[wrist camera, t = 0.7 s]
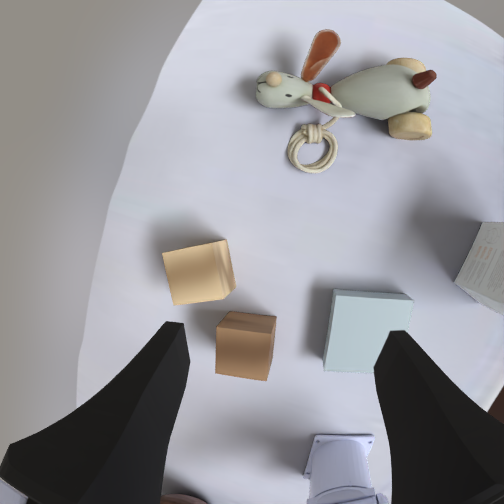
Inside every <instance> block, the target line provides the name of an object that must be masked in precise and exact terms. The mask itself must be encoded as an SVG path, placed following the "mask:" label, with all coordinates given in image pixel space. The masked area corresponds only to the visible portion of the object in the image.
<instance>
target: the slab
mask: <svg viewBox="0 0 504 504" xmlns="http://www.w3.org/2000/svg"><path fill="white" fill-rule="evenodd" d="M413 304H414V300H413V299H411V298H410V297H409V296H408V295H406V294H396V293H381V292H367V291H353V290H341V289H333V296H332V304H331V311H330V318H329V325H328V331H327V338H326V344H325V350H324V355H323V367H324V371H332V372H351V373H374V368H373V367H374V365H375V363H376V361H377V359H378V356H379V354H380V352H381V350H382V348H383V346H384V344H385V341H386V339H387V337H388V334H389V332H390V331H394V330H405V331H406V332H407V333H408V328H409V324H410V319H411V314H412V309H413Z"/></svg>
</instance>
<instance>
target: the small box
mask: <svg viewBox="0 0 504 504" xmlns="http://www.w3.org/2000/svg"><path fill="white" fill-rule="evenodd" d="M454 283H455V284H456V285H458V286H459V287H460V288H461V289H463V290H464V291H465V292H466V293H468V294H469V295H470V296H471V297H473V298H474V299H475V300H476V301H477V302H479V303H480V304H481V305H483V306H485V307H487V308H489V309H491V310H493V311H495V312H497V313H499V314H501V315H503V316H504V222H482V224H481V227H480V229H479V232H478V234H477V236H476V238H475V241H474V243H473V245H472V247H471V249H470V252H469V254H468V256H467V258H466V260H465V262H464V264H463V266H462V268H461V270H460V272H459V274H458V276H457V278H456V279H455V281H454Z"/></svg>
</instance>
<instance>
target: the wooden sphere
mask: <svg viewBox="0 0 504 504" xmlns="http://www.w3.org/2000/svg"><path fill="white" fill-rule="evenodd" d="M160 504H207V503H206V502H204V501H202V500H200V499H198V498H195V497H192V496H188V495H183V494H167V495H162V496H161V499H160Z"/></svg>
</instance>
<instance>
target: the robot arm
mask: <svg viewBox="0 0 504 504" xmlns="http://www.w3.org/2000/svg"><path fill="white" fill-rule="evenodd" d="M189 366H190V357H189V352H188V346H187V341H186V335H185V329H184V323H177V322H169V321H166V322H165V323H164V324H163V325H162V326H161V328H160V329H159V330H158V331H157V332H156V334H155V335H154V336H153V337H152V338H151V339H150V340H149V342H148V343H147V344H146V345H145V346H144V347H143V348H142V350H141V351H140V352H139V353H138V354H137V355H136V356H135V357H134V358H133V359H132V360H131V361H130V363H129V364H128V365H127V366H126V367H125V368H124V369H123V370H122V371H121V372H120V373H119V374H118V375H116V376H115V377H114V378H113V379H112V380H111V381H110V382H109V383H108V384H107V385H106V386H105V387H104V388H103V389H101V390H100V391H99V392H98V393H97V394H96V395H94V396H93V397H92V398H91V399H89V400H88V401H87V402H85V403H84V404H83V405H81V406H80V407H79V408H77V409H76V410H75V411H73V412H72V413H70V414H69V415H67V416H66V417H64V418H63V419H61V420H59V421H57V422H56V423H54V424H52V425H50V426H49V427H47V428H45V429H43V430H41V431H40V432H38V433H36V434H33V435H31V436H29V437H27V438H24V439H22V440H19V441H17V442H15V443H12V444H10V445H9V447H8V449H7V452H6V454H5V456H4V459H3V461H2V463H1V466H0V477H1V478H2V479H3V480H4V481H6V482H7V483H8V484H10V485H11V486H10V485H8V484H7V483H5V482H3V481H2V480H0V504H160V499H161V489H162V481H163V474H164V467H165V461H166V455H167V449H168V444H169V440H170V436H171V433H172V430H173V427H174V423H175V420H176V417H177V414H178V410H179V407H180V404H181V401H182V397H183V394H184V391H185V387H186V383H187V377H188V372H189ZM373 368H374V376H375V384H376V391H377V395H378V399H379V403H380V407H381V411H382V415H383V419H384V423H385V427H386V431H387V436H388V440H389V446H390V454H391V467H392V502H391V504H504V424H503V423H501V422H499V421H498V420H497V419H495V418H494V417H493V416H491V415H490V414H488V413H487V412H486V411H484V410H483V409H482V408H481V407H479V406H478V405H477V404H476V403H475V402H474V401H472V400H471V399H470V398H469V397H468V396H467V395H466V394H465V393H464V392H462V391H461V390H460V389H459V388H458V387H457V386H456V385H455V384H454V383H453V382H452V381H451V380H450V379H449V377H448V376H447V375H446V374H445V373H444V372H443V371H442V370H441V369H440V368H439V367H438V366H437V365H436V364H435V362H434V361H433V360H432V359H431V358H430V357H429V356H428V355H427V354H426V352H425V351H424V350H423V349H422V348H421V347H420V346H419V345H418V344H417V343H416V341H415V340H414V339H413V338H412V337H411V336H410V335H409V334H408V333H407V332H406V331H405V330H394V331H390V332H389V334H388V337H387V339H386V341H385V344H384V346H383V348H382V350H381V352H380V354H379V356H378V359H377V361H376V363H375V365H374V367H373ZM317 440H319V441H317ZM374 440H375V437H374V436H372V435H369V436H341V435H316V436H315V437H314V441H313V445H312V448H311V452H310V455H309V459H308V462H307V465H306V469H305V472H304V475H303V478H304V479H310V490H309V499H307V504H389V503H388V499H387V497H386V496H385V495H383V494H382V493H379V494H376V497H375V491H374V488H373V487H372V484H371V478H370V472H369V467H368V461H367V456H368V454H369V452H370V449H371V447H372V445H373V442H374ZM369 441H370V442H369ZM307 472H309V473H307ZM13 487H14V488H15V489H14V488H13ZM16 489H17V490H16Z"/></svg>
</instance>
